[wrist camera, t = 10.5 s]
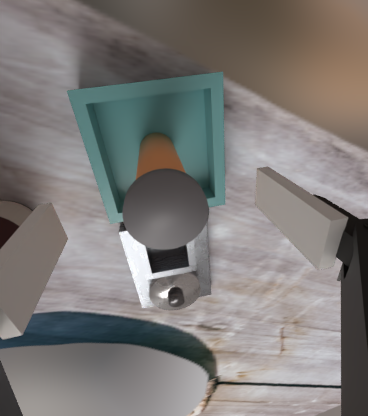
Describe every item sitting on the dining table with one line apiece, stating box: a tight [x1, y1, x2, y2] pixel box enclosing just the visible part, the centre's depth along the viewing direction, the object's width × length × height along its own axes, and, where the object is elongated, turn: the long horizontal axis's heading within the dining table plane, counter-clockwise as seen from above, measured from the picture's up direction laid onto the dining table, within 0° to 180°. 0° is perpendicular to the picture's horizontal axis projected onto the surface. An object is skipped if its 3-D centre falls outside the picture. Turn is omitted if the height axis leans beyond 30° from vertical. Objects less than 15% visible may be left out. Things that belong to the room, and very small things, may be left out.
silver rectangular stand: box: [119, 225, 211, 310], centre depth 33 cm, size 12×17×5 cm
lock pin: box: [122, 132, 209, 250], centre depth 19 cm, size 5×5×15 cm
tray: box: [67, 72, 225, 224], centre depth 25 cm, size 14×14×4 cm
